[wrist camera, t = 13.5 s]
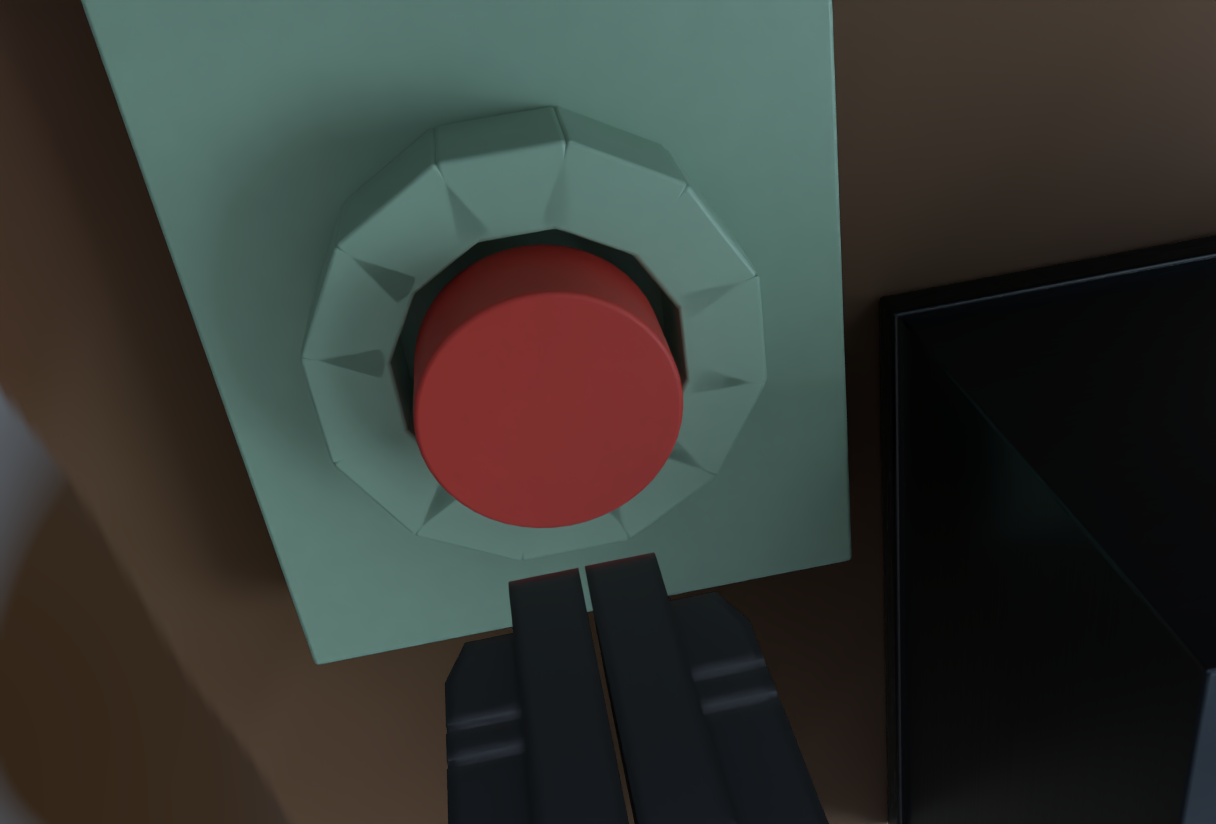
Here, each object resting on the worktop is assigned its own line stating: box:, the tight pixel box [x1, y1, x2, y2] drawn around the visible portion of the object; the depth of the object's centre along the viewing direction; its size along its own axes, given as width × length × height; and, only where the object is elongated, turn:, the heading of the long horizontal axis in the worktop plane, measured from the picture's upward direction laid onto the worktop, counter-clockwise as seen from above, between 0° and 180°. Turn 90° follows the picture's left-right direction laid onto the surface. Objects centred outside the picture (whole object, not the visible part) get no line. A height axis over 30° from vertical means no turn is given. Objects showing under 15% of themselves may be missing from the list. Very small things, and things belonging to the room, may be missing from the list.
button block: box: [81, 0, 852, 665], centre depth 18 cm, size 12×10×4 cm
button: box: [413, 245, 683, 528], centre depth 16 cm, size 4×4×2 cm
